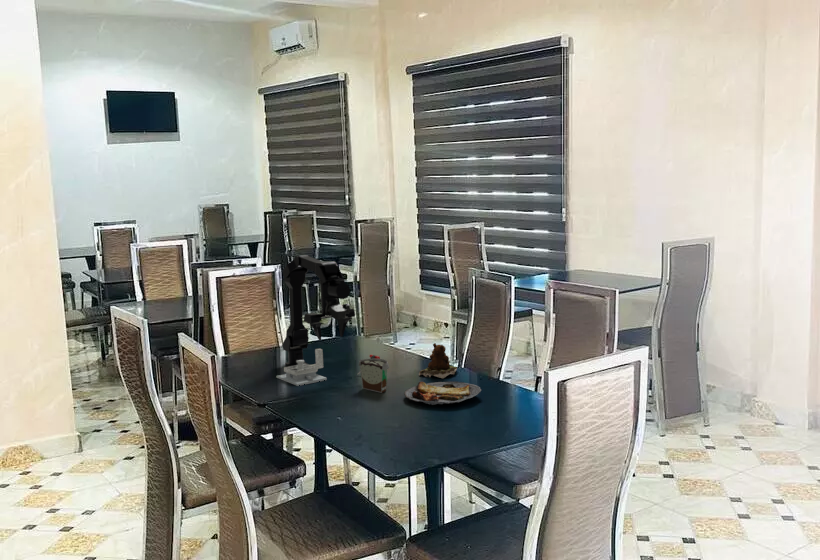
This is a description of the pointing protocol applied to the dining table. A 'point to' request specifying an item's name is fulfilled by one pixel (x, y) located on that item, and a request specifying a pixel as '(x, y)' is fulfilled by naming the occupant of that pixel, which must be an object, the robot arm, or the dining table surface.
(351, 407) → the dining table surface
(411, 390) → the food plate
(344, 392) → the dining table surface
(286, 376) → the plate with round-ended peg
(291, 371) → the square frame with handle
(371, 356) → the tow hook
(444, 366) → the bear figurine
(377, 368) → the food container
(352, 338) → the dining table surface
